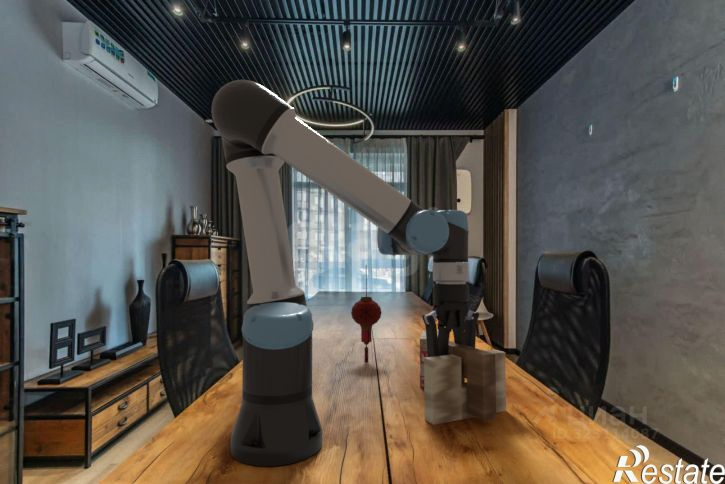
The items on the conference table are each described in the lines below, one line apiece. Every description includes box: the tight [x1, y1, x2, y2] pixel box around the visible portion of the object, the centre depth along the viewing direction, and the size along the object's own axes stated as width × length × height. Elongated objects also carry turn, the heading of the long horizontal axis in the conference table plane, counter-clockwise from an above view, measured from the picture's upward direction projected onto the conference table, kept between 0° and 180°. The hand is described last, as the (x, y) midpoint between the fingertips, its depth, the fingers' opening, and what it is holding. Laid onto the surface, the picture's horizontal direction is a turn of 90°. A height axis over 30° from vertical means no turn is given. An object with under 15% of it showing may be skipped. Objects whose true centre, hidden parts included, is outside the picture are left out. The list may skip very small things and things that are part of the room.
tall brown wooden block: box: [447, 340, 497, 422], centre depth 86 cm, size 3×14×12 cm, turn 25°
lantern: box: [350, 264, 382, 363], centre depth 132 cm, size 10×10×30 cm
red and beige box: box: [419, 329, 438, 389], centre depth 115 cm, size 21×6×12 cm, turn 169°
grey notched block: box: [423, 349, 507, 426], centre depth 86 cm, size 18×3×12 cm, turn 115°
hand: (452, 393), depth 90 cm, fingers closed on tall brown wooden block, 3 cm apart
